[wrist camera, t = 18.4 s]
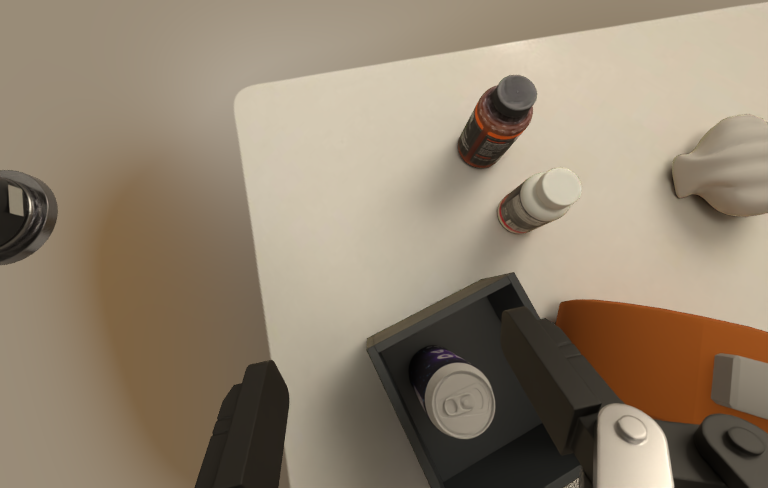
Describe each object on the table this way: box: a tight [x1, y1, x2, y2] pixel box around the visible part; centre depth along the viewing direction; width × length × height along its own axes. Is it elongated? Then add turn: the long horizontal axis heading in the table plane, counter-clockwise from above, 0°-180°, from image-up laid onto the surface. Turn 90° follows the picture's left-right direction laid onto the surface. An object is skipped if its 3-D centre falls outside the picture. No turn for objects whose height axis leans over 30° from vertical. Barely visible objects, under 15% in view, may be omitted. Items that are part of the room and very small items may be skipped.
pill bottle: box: [498, 167, 582, 234], centre depth 35 cm, size 5×5×10 cm
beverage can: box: [409, 346, 495, 439], centre depth 30 cm, size 6×6×12 cm
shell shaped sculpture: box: [672, 114, 768, 217], centre depth 39 cm, size 13×13×6 cm
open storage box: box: [367, 272, 580, 488], centre depth 32 cm, size 16×18×9 cm
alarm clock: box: [556, 300, 768, 433], centre depth 29 cm, size 23×9×17 cm, turn 73°
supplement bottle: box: [458, 75, 537, 168], centre depth 36 cm, size 6×6×11 cm
